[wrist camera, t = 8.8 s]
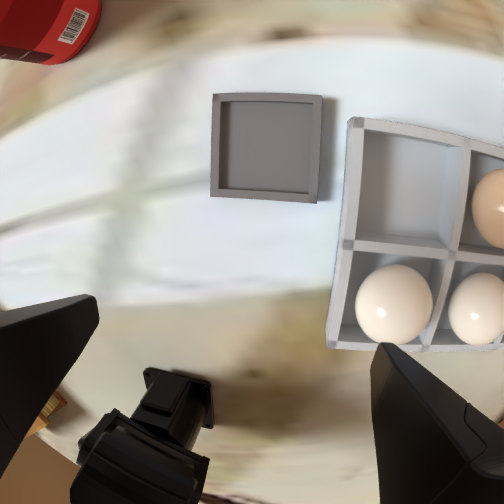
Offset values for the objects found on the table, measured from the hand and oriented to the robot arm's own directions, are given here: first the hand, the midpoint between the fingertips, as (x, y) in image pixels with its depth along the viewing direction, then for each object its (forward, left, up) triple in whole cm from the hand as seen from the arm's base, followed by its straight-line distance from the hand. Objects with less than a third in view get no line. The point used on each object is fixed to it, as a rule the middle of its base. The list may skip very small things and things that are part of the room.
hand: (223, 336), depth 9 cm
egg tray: (0, -14, -12) cm, 19 cm away
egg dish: (+5, +1, -12) cm, 13 cm away
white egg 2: (-3, -14, -9) cm, 17 cm away
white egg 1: (-3, -8, -9) cm, 12 cm away
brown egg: (+4, -14, -9) cm, 17 cm away
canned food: (+17, +18, -12) cm, 27 cm away
